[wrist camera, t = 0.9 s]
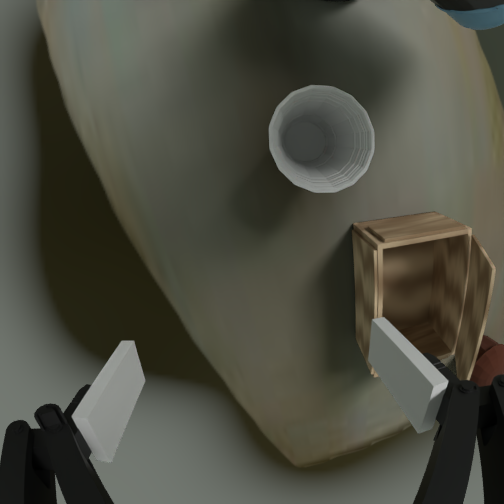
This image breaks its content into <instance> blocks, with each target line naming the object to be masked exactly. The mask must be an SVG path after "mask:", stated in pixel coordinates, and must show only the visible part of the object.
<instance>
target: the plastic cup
mask: <svg viewBox="0 0 504 504" xmlns="http://www.w3.org/2000/svg"><path fill="white" fill-rule="evenodd" d="M269 149H270V151H271V154H272V156H273V158H274V160H275V162H276V165H277V167H278V169H279V170H280V171H281V172H282V173H283V174H284V175H285V176H286V177H287V178H288V179H289V180H290V181H291V182H292V183H293V184H294V185H297V186H299V187H302V188H304V189H307V190H309V191H312V192H314V193H333V192H338V191H340V190H342V189H344V188H347V187H349V186H351V185H354V184H355V183H356V181H357V180H358V179H359V178H360V177H361V176H362V175H363V174H364V173H365V172H366V171H367V170H368V167H369V164H370V162H371V159H372V157H373V154H374V151H375V145H374V129H373V126H372V124H371V121H370V119H369V116H368V114H367V111H366V110H365V109H364V108H363V107H362V106H361V105H360V104H359V102H358V101H357V100H356V99H355V98H354V97H353V96H352V95H350V94H348V93H346V92H344V91H342V90H340V89H338V88H335V87H333V86H322V85H310V86H307V87H304V88H302V89H299V90H296V91H293V92H291V93H290V94H289V95H288V96H287V97H286V98H285V99H284V100H283V101H282V102H281V103H280V104H279V105H278V106H277V107H276V110H275V112H274V115H273V117H272V120H271V122H270V125H269Z"/></svg>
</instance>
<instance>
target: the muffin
mask: <svg viewBox="0 0 504 504" xmlns="http://www.w3.org/2000/svg"><path fill="white" fill-rule="evenodd" d="M500 374H504V345H503V344H498V343H497V342H495V341H494V340H492V339H491V338H489V337H488V336H485V335H483V337H482V341H481V344H480V348H479V352H478V355H477V358H476V362H475V365H474V368H473V371H472V374H471V377H470V380H469V381H473V382H475V383H476V384H477V385H478V386H479V387H481V386H487V385H491V383H492V380H493V378H494V377H495V376H497V375H500Z"/></svg>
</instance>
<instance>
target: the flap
mask: <svg viewBox="0 0 504 504" xmlns="http://www.w3.org/2000/svg"><path fill="white" fill-rule="evenodd" d="M495 271H496V268H495V266H494V265H493V263H492V261H491V260H490V258H489V257H488V255H487V253H486V252H485V250H484V249H483V247H482V246H481V244H480V243H479V241H478V240H477V238H476V237H475V235H471V250H470V262H469V272H468V281H467V289H466V296H465V302H464V308H463V314H462V320H461V325H460V330H459V335H458V339H457V344H456V348H455V361H456V371H457V378H458V379H459V380H460V381H461V380H470V377H471V374H472V371H473V368H474V365H475V362H476V358H477V355H478V352H479V348H480V344H481V341H482V337H483V333H484V329H485V325H486V321H487V316H488V311H489V307H490V302H491V296H492V291H493V285H494V278H495Z"/></svg>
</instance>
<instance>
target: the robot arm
mask: <svg viewBox="0 0 504 504" xmlns="http://www.w3.org/2000/svg"><path fill="white" fill-rule="evenodd" d="M325 1H336V2H338V1H348V0H325ZM431 1H432V2H433V3H434V4H435V6H436V7H437V8H439V9H440V10H442V11H444V12H446V13H447V14H448V15H449V16H451V17H452V18H453V19H454V20H455V21H456V22H458V23H459V24H460V25H462V26H464V27H466V28H471V29H473V30H484V29H490V28H493V27H497V26H499V25H502V24H504V0H431ZM368 361H369V363H370V364H371V365H372V367H373V368H374V370H375V371H376V373H377V374H378V375H379V377H380V378H381V380H382V381H383V383H384V384H385V385H386V387H387V388H388V390H389V391H390V393H391V394H392V396H393V397H394V399H395V400H396V401H397V403H398V404H399V406H400V407H401V409H402V410H403V412H404V413H405V415H406V416H407V418H408V419H409V421H410V422H411V424H412V425H413V427H414V428H415V429H416V431H417V433H418V434H419V433H422V432H424V431H427V430H429V429H432V428H433V425H434V423H435V420H437V421H438V422H439V423H440V426H439V428H438V431H437V433H436V435H435V437H434V441H435V442H434V445H433V449H432V452H431V456H430V458H429V462H428V465H427V468H426V471H425V473H424V476H423V479H422V482H421V485H420V487H419V490H418V493H417V495H416V497H415V500H414V502H413V504H463V501H464V498H465V493H466V489H467V485H468V481H469V476H470V471H471V465H472V460H473V454H474V448H475V441H476V434H477V440H478V446H479V453H480V460H481V467H482V477H483V490H484V504H504V374H500V375H497V376H495V377H494V378H493V380H492V383H491V385H487V386H481V387H479V386H478V385H477V384H476V383H475V382H473V381H469V380H461V381H460V380H459V379H458V378H457V377H456V376H455V375H454V374H453V373H452V372H451V371H450V370H449V369H448V368H447V367H445V365H444V364H443V363H441V361H440V360H439V359H438V358H437V357H436V356H434V355H432V354H430V353H423V354H421V353H420V352H419V351H418V350H417V349H416V348H415V347H414V346H413V345H412V344H411V343H410V342H409V341H408V340H407V339H406V338H405V337H404V336H403V335H402V334H401V333H400V332H399V331H398V330H397V329H396V328H395V327H394V326H393V325H392V324H391V323H390V322H389V321H388V320H386V319H385V318H384V317H381V318H376V319H372V325H371V336H370V347H369V356H368ZM144 383H145V377H144V375H143V371H142V368H141V364H140V361H139V357H138V353H137V350H136V346H135V343H134V341H121V343H120V344H119V346H118V347H117V349H116V350H115V351H114V353H113V354H112V356H111V357H110V359H109V360H108V362H107V363H106V365H105V366H104V367H103V369H102V370H101V372H100V373H99V375H98V376H97V378H96V379H95V381H94V382H93V384H92V385H88V384H87V385H85V386H84V387H82V388H81V389H80V390H79V391H78V393H77V394H76V396H75V398H73V400H72V403H70V404H69V406H68V407H67V409H66V410H65V412H64V413H62V411H61V409H60V407H59V406H58V405H56V404H45V405H43V406H41V407H39V408H38V409H37V410H36V412H35V414H34V417H35V419H36V421H37V423H38V424H39V426H40V429H31V428H30V426H29V425H28V423H27V422H26V421H24V420H18V421H14V422H12V423H11V424H10V425H9V426H8V427H7V429H6V434H5V438H4V443H3V449H2V455H1V461H0V504H57V499H56V485H55V475H56V477H57V480H58V483H59V486H60V488H61V491H62V494H63V496H64V498H65V501H66V503H67V504H114V503H113V501H112V499H111V498H110V496H109V494H108V493H107V491H106V489H105V488H104V485H103V484H102V482H101V480H100V478H99V476H98V474H97V472H96V471H95V469H94V467H93V465H92V463H91V461H90V459H89V456H90V454H91V452H92V454H93V455H94V457H95V459H96V460H98V461H103V462H109V463H112V460H113V458H114V455H115V452H116V450H117V448H118V445H119V443H120V440H121V438H122V435H123V433H124V430H125V427H126V426H127V423H128V421H129V418H130V416H131V413H132V411H133V409H134V406H135V404H136V402H137V399H138V397H139V394H140V392H141V390H142V388H143V386H144Z"/></svg>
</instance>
